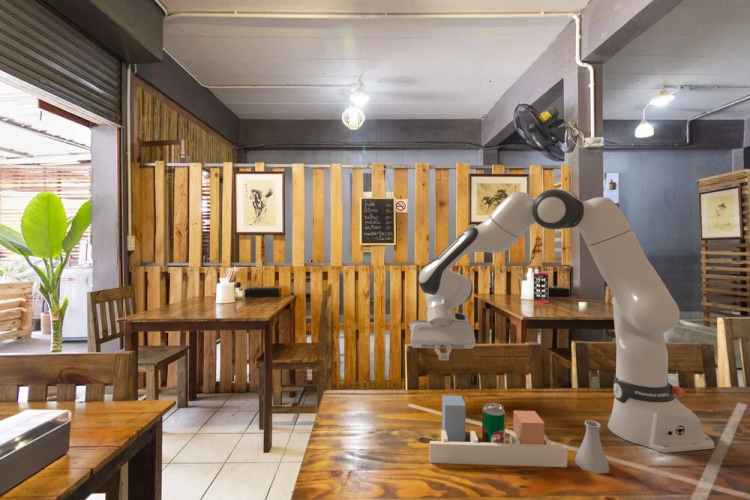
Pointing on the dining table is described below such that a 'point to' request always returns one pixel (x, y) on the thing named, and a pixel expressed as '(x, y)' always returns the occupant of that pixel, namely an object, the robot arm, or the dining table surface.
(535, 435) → the salmon pink brick
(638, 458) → the dining table surface
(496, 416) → the soda can
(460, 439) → the slate blue upright block
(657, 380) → the robot arm
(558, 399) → the dining table surface
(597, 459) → the flask
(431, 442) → the tray
